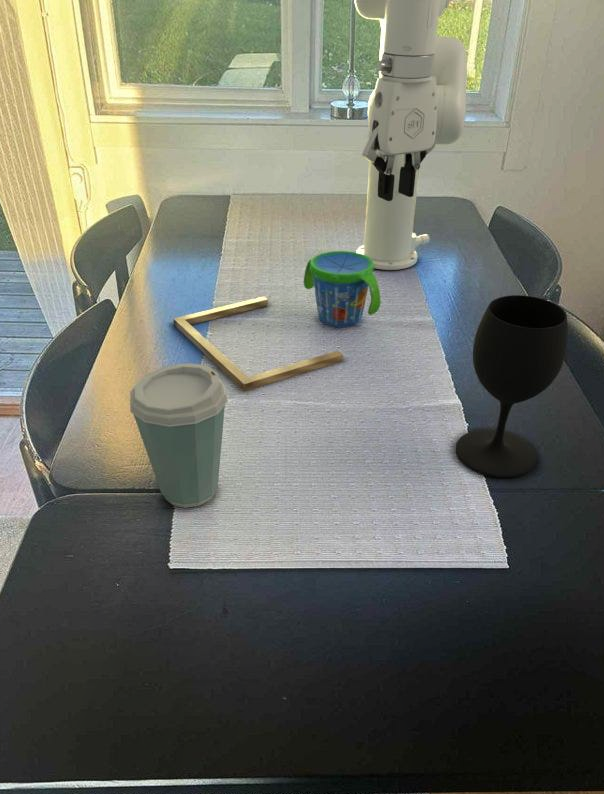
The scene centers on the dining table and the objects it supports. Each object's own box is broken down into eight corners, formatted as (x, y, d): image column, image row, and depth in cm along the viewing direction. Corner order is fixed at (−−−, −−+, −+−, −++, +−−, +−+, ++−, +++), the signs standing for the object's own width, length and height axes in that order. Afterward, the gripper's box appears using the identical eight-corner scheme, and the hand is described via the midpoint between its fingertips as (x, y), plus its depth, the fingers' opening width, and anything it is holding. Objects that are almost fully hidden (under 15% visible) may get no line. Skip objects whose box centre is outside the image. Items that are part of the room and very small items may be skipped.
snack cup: (287, 311, 123) (287, 254, 117) (333, 296, 129) (335, 241, 122) (346, 344, 114) (350, 285, 108) (392, 327, 119) (398, 269, 113)
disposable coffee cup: (160, 530, 79) (142, 418, 69) (132, 477, 86) (113, 369, 77) (247, 503, 82) (241, 394, 73) (214, 454, 90) (205, 349, 81)
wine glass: (539, 440, 94) (577, 300, 81) (532, 486, 86) (572, 339, 73) (461, 425, 96) (487, 286, 84) (448, 468, 89) (473, 323, 76)
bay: (263, 302, 126) (263, 296, 125) (342, 361, 110) (343, 354, 109) (173, 324, 118) (172, 318, 118) (244, 391, 102) (243, 384, 101)
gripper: (377, 75, 96) (367, 211, 108) (466, 67, 103) (449, 195, 115) (345, 67, 101) (340, 198, 113) (433, 59, 108) (419, 183, 120)
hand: (395, 195), depth 114 cm, fingers open, 3 cm apart
